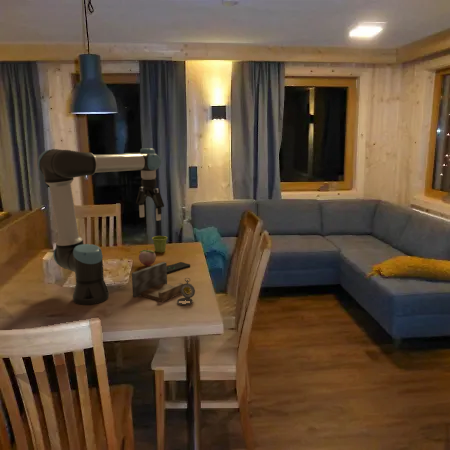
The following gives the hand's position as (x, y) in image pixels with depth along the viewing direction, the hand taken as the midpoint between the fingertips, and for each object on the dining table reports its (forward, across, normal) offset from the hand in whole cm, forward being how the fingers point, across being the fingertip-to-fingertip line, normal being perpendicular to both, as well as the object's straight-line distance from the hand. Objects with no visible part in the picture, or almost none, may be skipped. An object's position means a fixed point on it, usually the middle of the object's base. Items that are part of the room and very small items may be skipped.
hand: (150, 218), depth 220 cm
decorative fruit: (+27, +4, 0) cm, 27 cm away
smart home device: (+28, -11, -5) cm, 30 cm away
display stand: (+27, -32, +22) cm, 47 cm away
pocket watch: (+27, -48, +21) cm, 60 cm away
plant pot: (+27, +21, -24) cm, 42 cm away
